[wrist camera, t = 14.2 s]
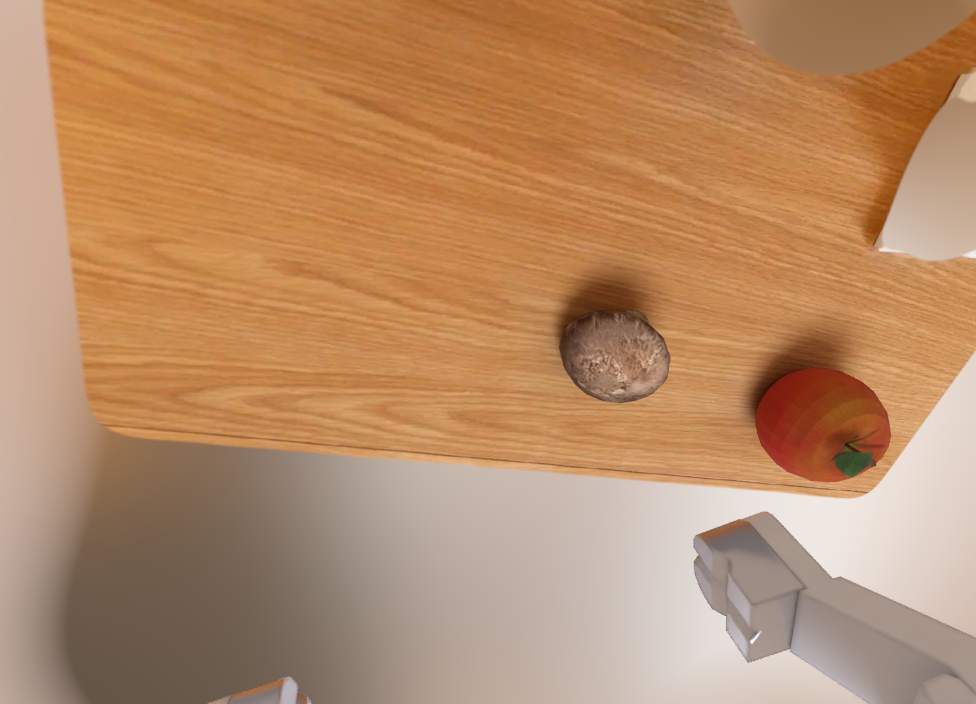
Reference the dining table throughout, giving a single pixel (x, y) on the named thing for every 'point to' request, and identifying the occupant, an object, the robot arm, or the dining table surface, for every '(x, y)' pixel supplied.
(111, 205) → the dining table surface
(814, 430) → the fruit
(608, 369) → the mushroom
